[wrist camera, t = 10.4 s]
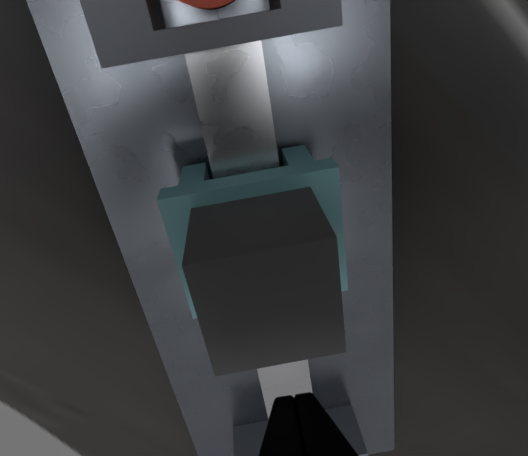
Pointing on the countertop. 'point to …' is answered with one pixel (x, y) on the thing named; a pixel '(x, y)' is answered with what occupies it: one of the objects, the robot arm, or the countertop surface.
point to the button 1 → (207, 3)
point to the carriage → (261, 260)
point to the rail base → (171, 138)
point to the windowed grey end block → (198, 39)
